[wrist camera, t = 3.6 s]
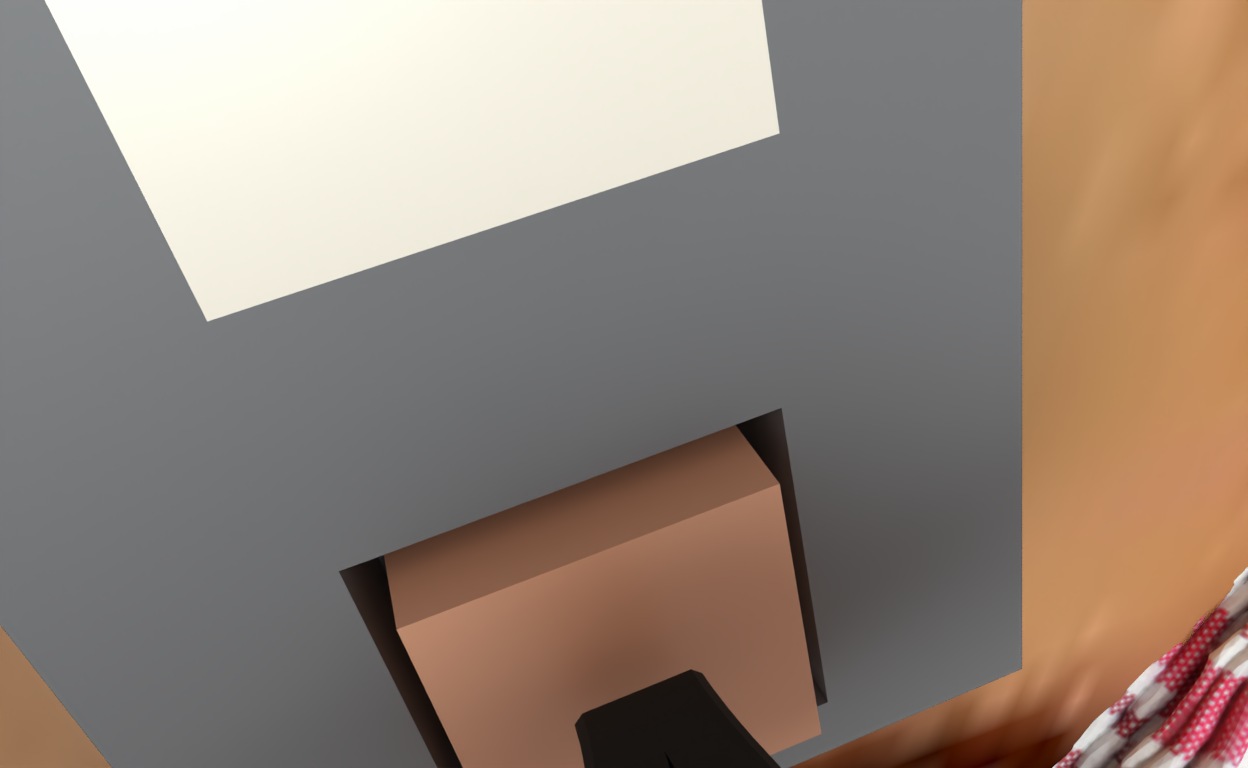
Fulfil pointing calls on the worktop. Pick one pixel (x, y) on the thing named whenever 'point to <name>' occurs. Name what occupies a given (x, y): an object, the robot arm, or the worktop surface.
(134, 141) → the cream button
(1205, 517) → the worktop surface
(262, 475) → the button console
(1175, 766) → the dish towel
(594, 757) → the robot arm
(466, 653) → the terracotta button
